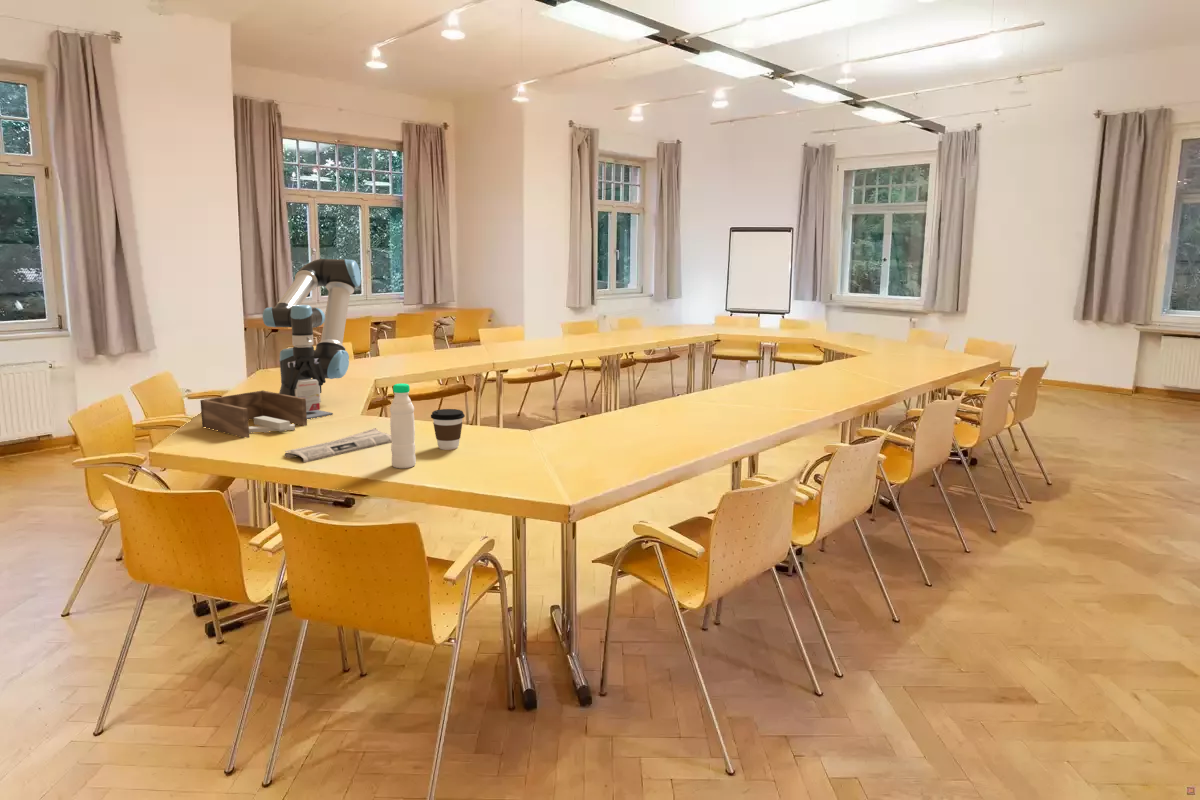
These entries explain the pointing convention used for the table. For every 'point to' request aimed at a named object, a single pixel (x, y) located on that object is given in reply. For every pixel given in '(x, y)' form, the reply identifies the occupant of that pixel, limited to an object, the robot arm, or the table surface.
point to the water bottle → (402, 428)
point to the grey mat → (317, 414)
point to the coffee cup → (447, 427)
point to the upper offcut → (271, 422)
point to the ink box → (309, 393)
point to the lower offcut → (267, 429)
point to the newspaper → (341, 445)
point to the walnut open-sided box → (250, 410)
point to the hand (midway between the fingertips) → (306, 403)
